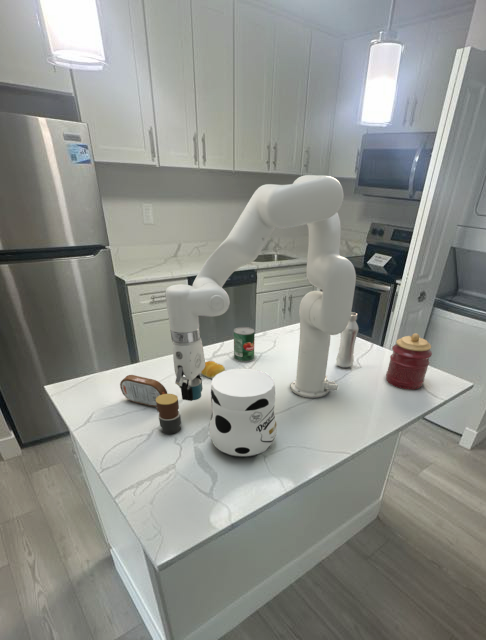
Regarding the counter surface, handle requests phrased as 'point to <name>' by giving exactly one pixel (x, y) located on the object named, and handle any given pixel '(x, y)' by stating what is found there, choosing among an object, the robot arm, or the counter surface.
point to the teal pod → (195, 388)
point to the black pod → (170, 424)
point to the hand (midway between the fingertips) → (192, 394)
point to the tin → (142, 389)
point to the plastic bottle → (348, 343)
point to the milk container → (243, 412)
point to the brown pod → (167, 406)
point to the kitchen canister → (409, 362)
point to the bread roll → (212, 369)
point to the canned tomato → (244, 344)
